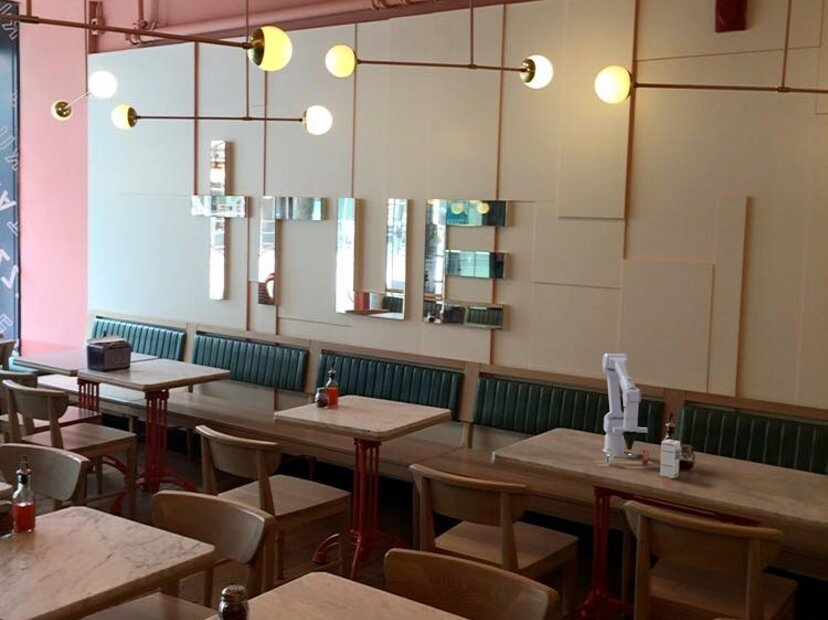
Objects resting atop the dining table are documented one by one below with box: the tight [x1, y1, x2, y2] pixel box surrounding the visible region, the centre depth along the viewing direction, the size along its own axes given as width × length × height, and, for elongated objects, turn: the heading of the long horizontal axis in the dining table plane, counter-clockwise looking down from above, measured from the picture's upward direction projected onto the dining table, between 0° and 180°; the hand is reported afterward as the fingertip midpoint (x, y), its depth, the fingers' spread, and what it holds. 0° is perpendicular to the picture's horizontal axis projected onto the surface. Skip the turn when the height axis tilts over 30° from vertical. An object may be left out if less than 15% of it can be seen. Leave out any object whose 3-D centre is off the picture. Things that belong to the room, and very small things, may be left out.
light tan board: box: [591, 459, 660, 469], centre depth 396 cm, size 12×25×1 cm, turn 98°
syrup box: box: [659, 439, 681, 479], centre depth 381 cm, size 6×6×14 cm
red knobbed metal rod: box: [605, 448, 650, 464], centre depth 396 cm, size 18×6×6 cm, turn 98°
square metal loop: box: [604, 449, 616, 466], centre depth 395 cm, size 6×3×6 cm, turn 8°
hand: (628, 449), depth 398 cm, fingers closed
